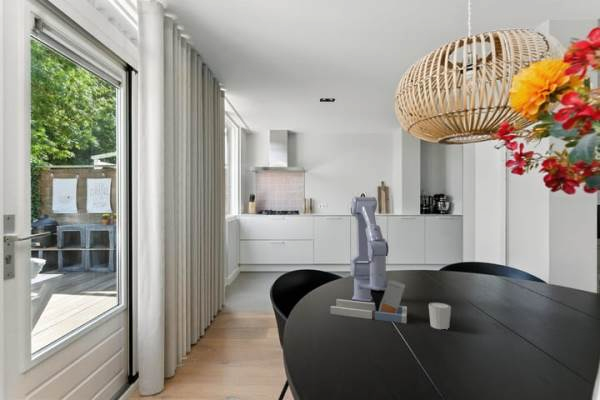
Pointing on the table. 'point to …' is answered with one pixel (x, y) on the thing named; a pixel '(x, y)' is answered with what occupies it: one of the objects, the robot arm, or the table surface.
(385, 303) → the skincare box
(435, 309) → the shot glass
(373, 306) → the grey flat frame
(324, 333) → the table surface
